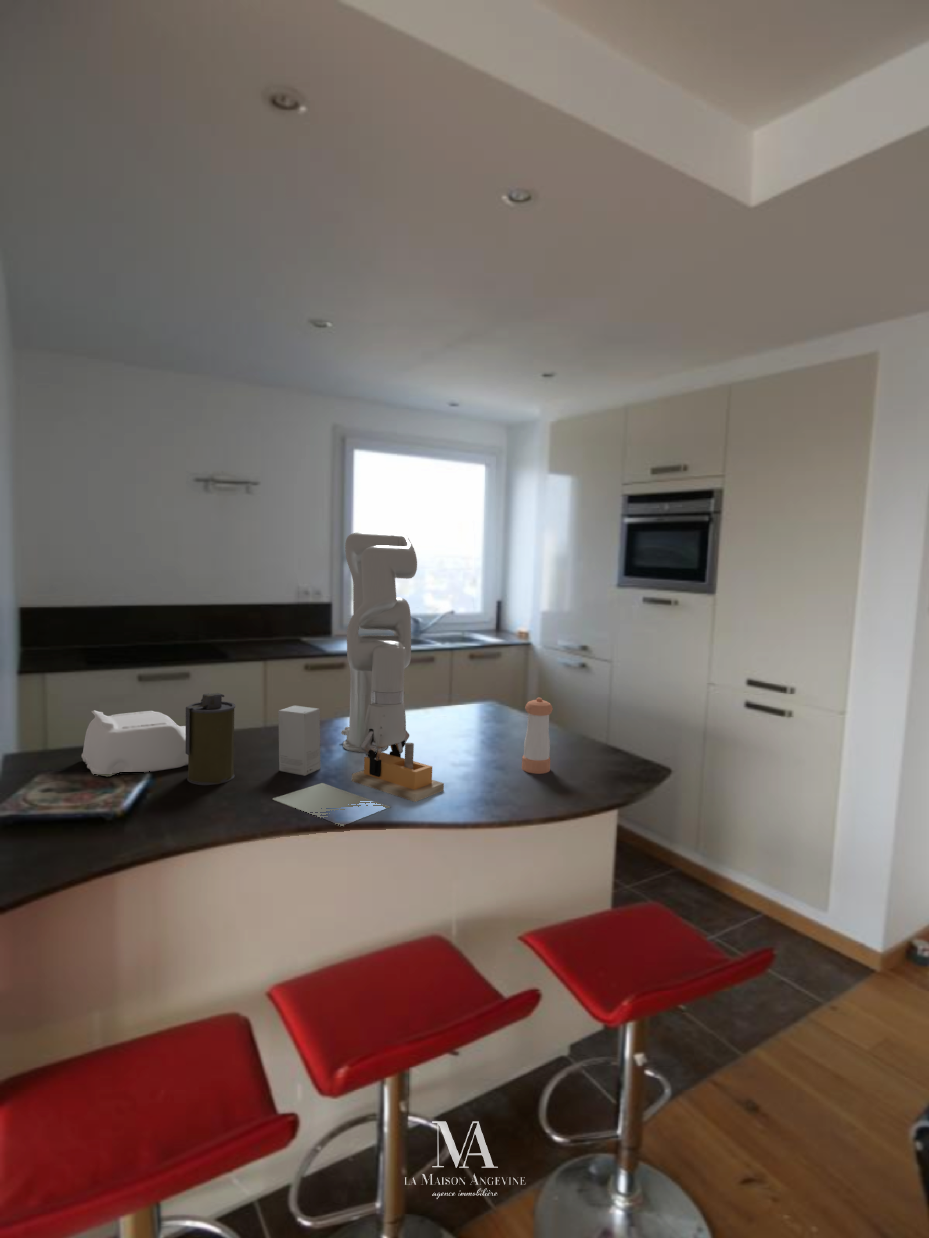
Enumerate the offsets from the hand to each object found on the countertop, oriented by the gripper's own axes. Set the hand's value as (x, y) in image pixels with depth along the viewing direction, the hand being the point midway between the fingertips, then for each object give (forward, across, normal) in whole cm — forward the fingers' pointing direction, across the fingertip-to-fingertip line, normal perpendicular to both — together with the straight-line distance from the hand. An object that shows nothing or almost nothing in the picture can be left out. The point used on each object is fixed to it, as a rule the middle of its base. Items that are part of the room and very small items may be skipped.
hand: (385, 771), depth 159 cm
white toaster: (+3, +28, -53) cm, 60 cm away
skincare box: (+3, +8, -22) cm, 23 cm away
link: (+1, 0, +4) cm, 4 cm away
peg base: (+3, 0, +7) cm, 8 cm away
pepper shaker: (+3, -34, +21) cm, 40 cm away
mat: (+3, +18, +1) cm, 18 cm away
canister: (+3, +26, -32) cm, 41 cm away
